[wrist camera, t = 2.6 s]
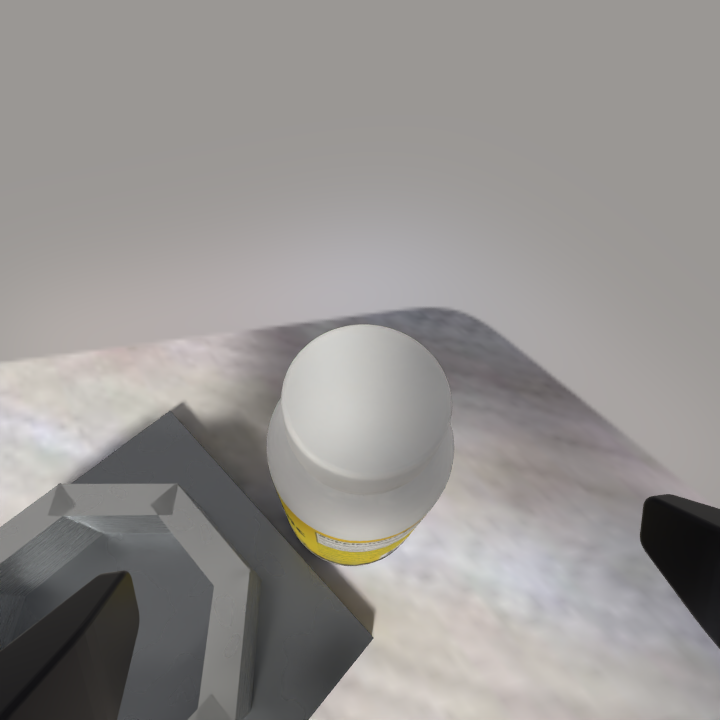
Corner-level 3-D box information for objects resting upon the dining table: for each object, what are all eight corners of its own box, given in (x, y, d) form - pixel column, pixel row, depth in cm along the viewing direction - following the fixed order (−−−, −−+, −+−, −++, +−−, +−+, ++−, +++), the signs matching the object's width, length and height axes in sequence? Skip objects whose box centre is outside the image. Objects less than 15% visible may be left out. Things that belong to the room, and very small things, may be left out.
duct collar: (45, 1044, 11) (-68, 1210, 8) (-133, 650, 15) (-259, 655, 12) (371, 637, 16) (382, 639, 13) (175, 418, 20) (146, 377, 17)
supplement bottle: (289, 436, 20) (262, 295, 12) (410, 437, 20) (469, 301, 12) (280, 570, 17) (235, 512, 9) (420, 569, 17) (507, 512, 9)
